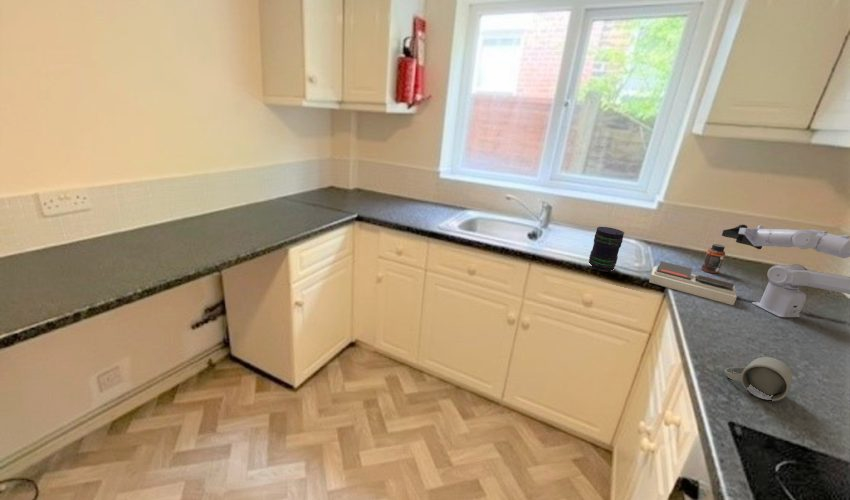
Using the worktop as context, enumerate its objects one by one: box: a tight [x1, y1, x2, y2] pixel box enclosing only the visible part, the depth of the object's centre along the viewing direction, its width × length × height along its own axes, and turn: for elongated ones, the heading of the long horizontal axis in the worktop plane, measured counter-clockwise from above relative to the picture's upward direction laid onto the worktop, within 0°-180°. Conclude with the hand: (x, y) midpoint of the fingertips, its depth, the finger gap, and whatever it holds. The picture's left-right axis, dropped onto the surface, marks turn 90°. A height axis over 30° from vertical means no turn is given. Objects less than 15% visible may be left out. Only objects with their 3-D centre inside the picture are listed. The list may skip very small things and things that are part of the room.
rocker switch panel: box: [648, 264, 737, 306], centre depth 137 cm, size 25×12×4 cm, turn 55°
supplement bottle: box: [701, 243, 726, 275], centre depth 155 cm, size 6×6×11 cm
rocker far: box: [657, 260, 693, 280], centre depth 139 cm, size 10×7×1 cm
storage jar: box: [588, 226, 625, 272], centre depth 148 cm, size 10×10×15 cm
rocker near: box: [696, 274, 735, 287], centre depth 133 cm, size 10×7×1 cm
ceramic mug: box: [724, 356, 793, 402], centre depth 84 cm, size 11×8×8 cm
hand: (730, 236), depth 138 cm, fingers open, 7 cm apart
